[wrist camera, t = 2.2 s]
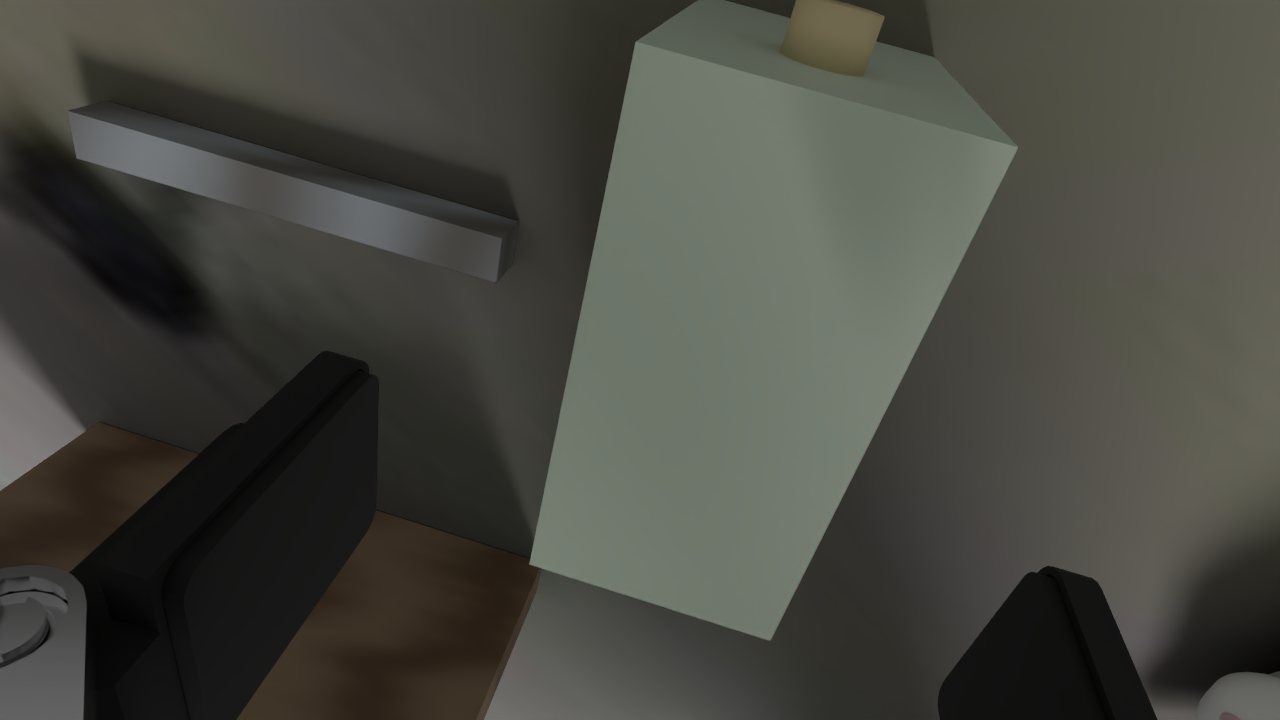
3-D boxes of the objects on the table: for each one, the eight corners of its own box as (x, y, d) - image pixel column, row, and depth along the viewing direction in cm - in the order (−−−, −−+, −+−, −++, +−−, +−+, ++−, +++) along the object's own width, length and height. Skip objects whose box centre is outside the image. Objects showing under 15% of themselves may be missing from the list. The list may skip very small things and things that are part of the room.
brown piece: (610, 248, 23) (451, 504, 13) (535, 594, 32) (405, 909, 22) (22, 76, 24) (-557, 186, 14) (106, 457, 33) (-210, 695, 23)
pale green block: (951, 14, 18) (1052, 79, 11) (782, 423, 25) (770, 641, 17) (716, -49, 18) (650, -30, 11) (613, 372, 25) (529, 564, 18)
